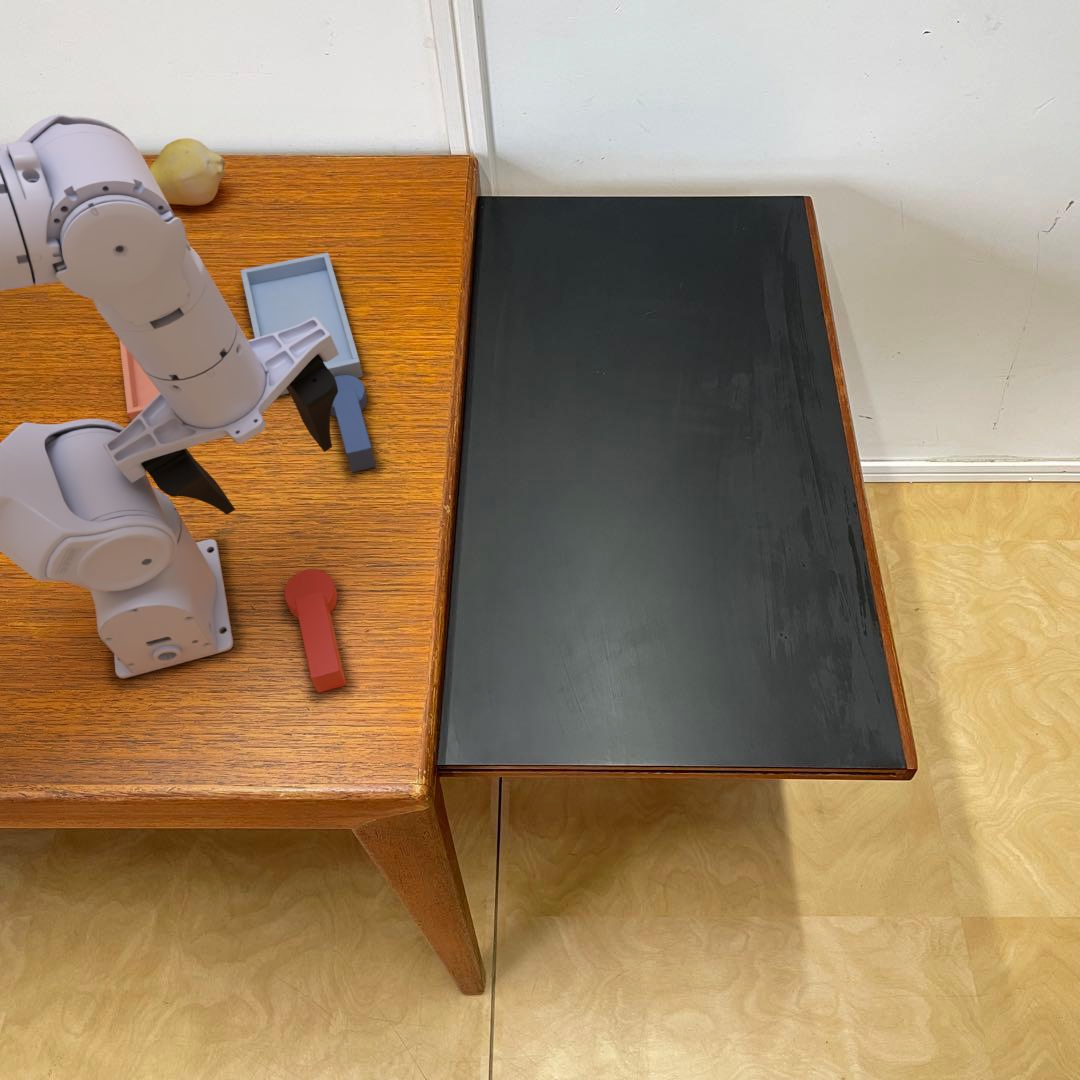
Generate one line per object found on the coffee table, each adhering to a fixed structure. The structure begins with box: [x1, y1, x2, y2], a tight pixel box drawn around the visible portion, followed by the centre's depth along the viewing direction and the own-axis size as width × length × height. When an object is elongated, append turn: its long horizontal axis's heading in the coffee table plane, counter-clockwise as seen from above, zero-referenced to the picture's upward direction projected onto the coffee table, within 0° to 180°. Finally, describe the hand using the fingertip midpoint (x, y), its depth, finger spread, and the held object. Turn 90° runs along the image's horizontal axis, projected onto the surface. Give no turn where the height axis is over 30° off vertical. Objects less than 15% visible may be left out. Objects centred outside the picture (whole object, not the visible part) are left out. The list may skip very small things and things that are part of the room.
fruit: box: [149, 137, 226, 207], centre depth 88 cm, size 6×6×10 cm
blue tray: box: [240, 252, 364, 397], centre depth 81 cm, size 14×8×2 cm, turn 18°
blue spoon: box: [330, 375, 377, 473], centre depth 75 cm, size 9×4×3 cm, turn 18°
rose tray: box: [118, 338, 160, 422], centre depth 79 cm, size 14×8×2 cm, turn 18°
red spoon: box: [283, 568, 347, 694], centre depth 65 cm, size 9×4×3 cm, turn 18°
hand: (273, 471), depth 62 cm, fingers open, 7 cm apart
